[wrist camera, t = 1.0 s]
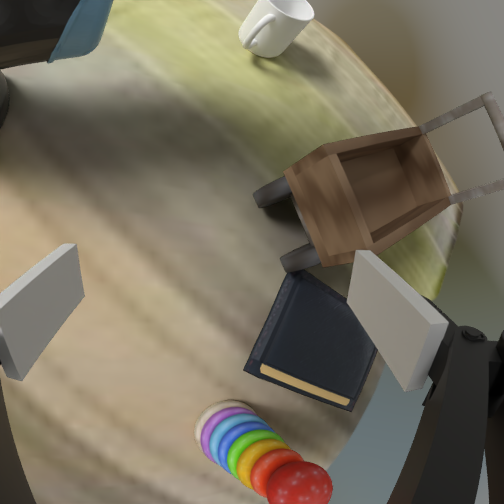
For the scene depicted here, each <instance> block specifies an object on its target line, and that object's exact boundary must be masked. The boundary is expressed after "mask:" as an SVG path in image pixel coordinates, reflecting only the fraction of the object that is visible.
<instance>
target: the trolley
mask: <svg viewBox="0 0 504 504" xmlns="http://www.w3.org/2000/svg"><path fill="white" fill-rule="evenodd" d="M483 106H485V108H486V110H487V113H488V115H489V117H490V119H491V121H492V124H493V126H494V128H495V130H496V133H497V135H498V138H499V140H500V142H501V145H502V148H503V150H504V117H503V115H502V113H501V111H500V109H499V106H498V104H497V103H496V100H495V98H494V96H493V94H492V92H488V93H485V94H483V95H481V96H480V97H477V98H475V99H473V100H471V101H469V102H467V103H465V104H463V105H461V106H459V107H457V108H455V109H453V110H451V111H449V112H447V113H445V114H443V115H441V116H439V117H437V118H435V119H433V120H431V121H429V122H427V123H425V124H423V125H421V126H418V127H412V128H406V129H400V130H394V131H388V132H382V133H377V134H372V135H366V136H361V137H356V138H351V139H346V140H341V141H337V142H332V143H328V144H323V145H322V146H320V147H319V148H317V149H316V150H314V151H313V152H311V153H310V154H308V155H307V156H305V157H304V158H302V159H301V160H299V161H298V162H296V163H295V164H293V165H292V166H290V167H289V168H288V169H286V170H285V171H283V173H284V175H285V176H284V177H282V178H279V179H277V180H275V181H273V182H271V183H269V184H267V185H265V186H264V187H262V188H260V189H259V190H257V191H256V192H255V193H254V194H253V196H254V198H255V201H256V203H257V205H258V208H262V207H266V206H269V205H272V204H275V203H277V202H280V201H283V200H285V199H288V198H290V197H291V199H292V202H293V204H294V206H295V209H296V211H297V213H298V216H299V218H300V220H301V223H302V225H303V228H304V230H305V232H306V235H307V237H308V240H309V242H310V243H309V244H306V245H304V246H302V247H300V248H297V249H295V250H293V251H291V252H289V253H287V254H286V255H284V256H282V257H281V258H280V260H281V263H282V265H283V267H284V270H285V272H294V271H298V270H302V269H305V268H308V267H311V266H314V265H317V264H319V263H322V266H323V267H329V266H335V265H341V264H347V263H353V262H354V258H355V252H356V250H370V251H371V252H373V253H374V254H375V255H376V256H377V255H378V254H380V253H381V252H383V251H384V250H386V249H387V248H389V247H390V246H392V245H393V244H395V243H396V242H398V241H399V240H401V239H402V238H404V237H405V236H407V235H408V234H410V233H411V232H413V231H414V230H416V229H417V228H419V227H420V226H421V225H423V224H424V223H426V222H427V221H429V220H430V219H432V218H433V217H434V216H436V215H437V214H439V213H440V212H441V211H443V210H444V209H446V208H447V207H448V206H450V205H452V204H455V203H459V202H462V201H466V200H469V199H472V198H476V197H479V196H483V195H486V194H490V193H493V192H496V191H500V190H503V189H504V179H500V180H497V181H494V182H491V183H488V184H484V185H481V186H478V187H475V188H472V189H468V190H465V191H462V192H459V193H455V194H452V195H451V193H450V191H449V188H448V185H447V182H446V180H445V177H444V175H443V172H442V170H441V167H440V165H439V162H438V160H437V157H436V155H435V153H434V150H433V148H432V146H431V144H430V142H429V139H428V137H427V135H426V133H428V132H430V131H432V130H434V129H436V128H438V127H440V126H442V125H444V124H447V123H449V122H451V121H453V120H455V119H457V118H459V117H461V116H464V115H465V114H468V113H470V112H472V111H474V110H477V109H479V108H481V107H483Z"/></svg>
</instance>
